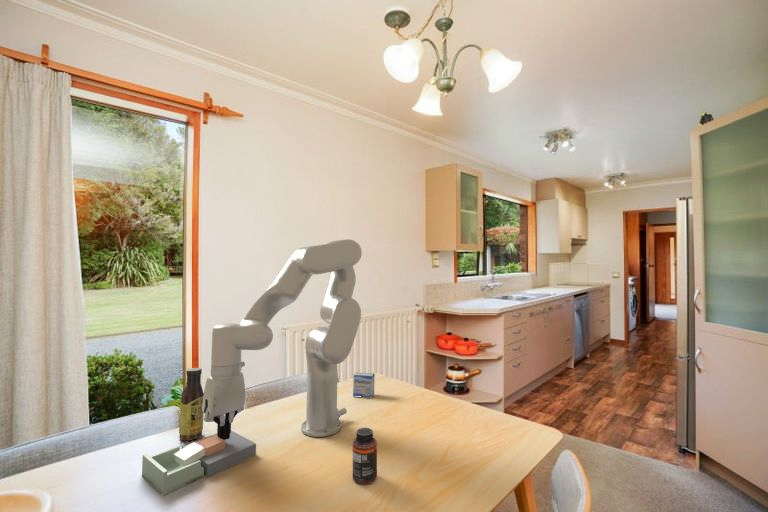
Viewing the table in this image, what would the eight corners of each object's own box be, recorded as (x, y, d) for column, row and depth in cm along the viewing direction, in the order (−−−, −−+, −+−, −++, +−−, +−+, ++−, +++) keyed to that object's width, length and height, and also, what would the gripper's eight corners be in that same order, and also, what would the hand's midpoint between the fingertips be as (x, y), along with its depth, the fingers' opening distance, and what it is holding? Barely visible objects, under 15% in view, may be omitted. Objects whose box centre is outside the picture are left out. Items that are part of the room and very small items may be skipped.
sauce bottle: (192, 443, 102) (194, 373, 102) (173, 441, 103) (175, 371, 104) (208, 433, 108) (209, 367, 109) (190, 430, 109) (192, 365, 110)
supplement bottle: (369, 468, 90) (369, 423, 90) (381, 480, 85) (382, 432, 85) (347, 476, 87) (348, 429, 87) (359, 489, 82) (360, 439, 82)
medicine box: (352, 397, 139) (352, 374, 140) (355, 393, 144) (355, 371, 144) (372, 398, 138) (372, 376, 138) (374, 394, 142) (374, 372, 143)
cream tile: (195, 449, 92) (193, 442, 92) (205, 454, 89) (204, 447, 89) (175, 461, 88) (173, 454, 88) (185, 467, 85) (184, 460, 85)
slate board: (228, 439, 104) (228, 428, 104) (255, 454, 96) (256, 443, 96) (181, 457, 94) (181, 446, 94) (207, 477, 86) (208, 464, 86)
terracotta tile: (214, 442, 96) (214, 435, 96) (224, 448, 93) (225, 440, 94) (195, 450, 92) (196, 442, 92) (206, 456, 89) (206, 448, 89)
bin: (181, 460, 93) (181, 440, 93) (203, 476, 86) (204, 455, 86) (141, 475, 86) (142, 454, 86) (162, 495, 79) (163, 472, 79)
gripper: (243, 362, 105) (241, 425, 104) (191, 373, 93) (188, 444, 92) (258, 366, 100) (256, 432, 100) (205, 379, 89) (202, 453, 88)
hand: (223, 438), depth 96 cm, fingers closed
